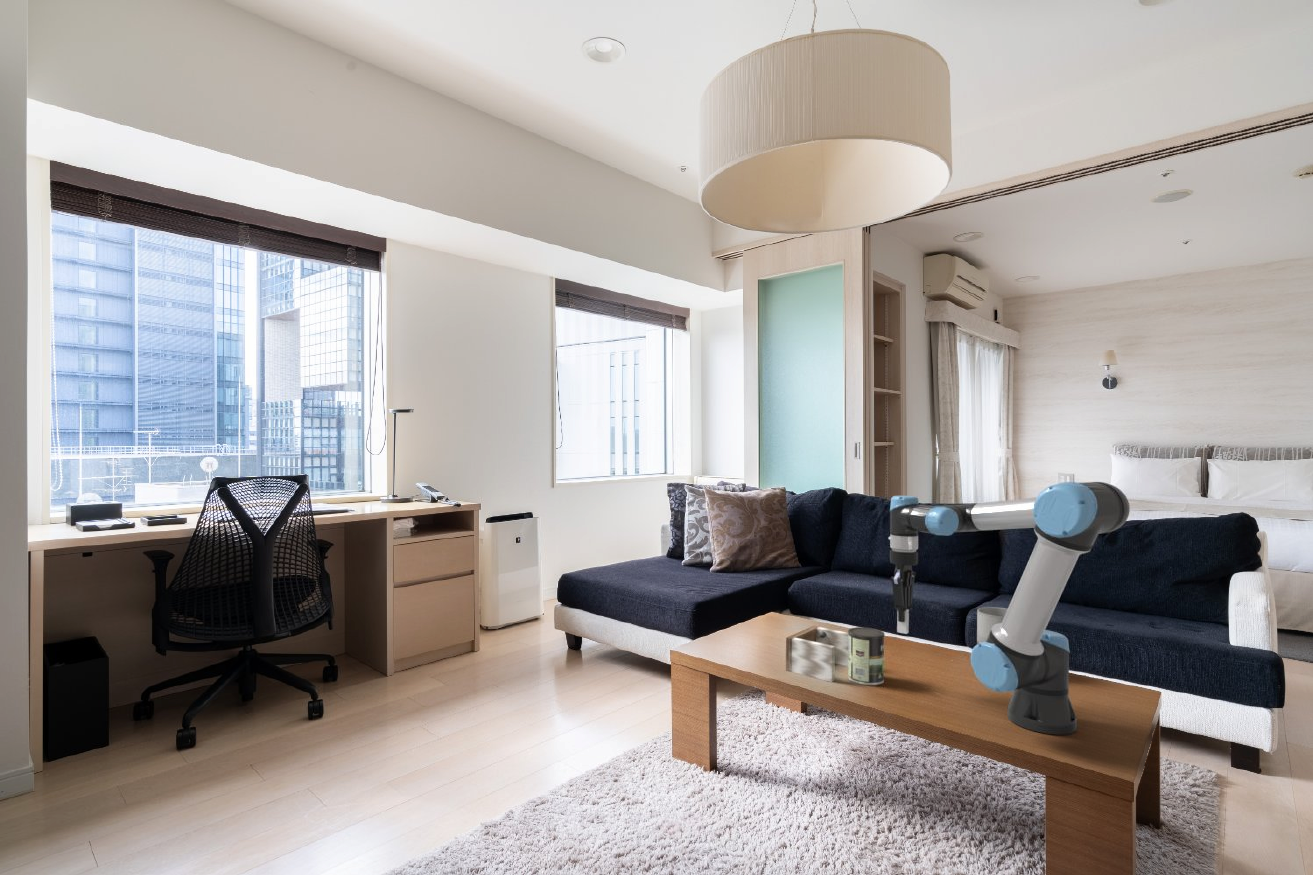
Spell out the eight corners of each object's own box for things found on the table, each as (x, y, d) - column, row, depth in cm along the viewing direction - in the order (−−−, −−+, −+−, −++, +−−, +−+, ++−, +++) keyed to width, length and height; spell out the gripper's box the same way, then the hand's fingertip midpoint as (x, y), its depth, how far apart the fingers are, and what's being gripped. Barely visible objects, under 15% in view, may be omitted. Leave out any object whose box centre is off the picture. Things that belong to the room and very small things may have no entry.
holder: (857, 666, 209) (857, 634, 209) (831, 681, 196) (831, 647, 196) (813, 656, 219) (813, 625, 219) (785, 670, 205) (786, 637, 205)
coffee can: (881, 674, 202) (882, 628, 202) (886, 686, 192) (886, 637, 192) (846, 672, 204) (846, 625, 204) (849, 683, 194) (849, 635, 194)
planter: (979, 659, 217) (979, 605, 218) (1024, 667, 211) (1024, 610, 211) (974, 671, 206) (975, 613, 206) (1022, 679, 200) (1023, 619, 200)
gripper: (899, 545, 199) (898, 625, 199) (882, 551, 189) (881, 634, 189) (924, 548, 194) (924, 630, 194) (908, 554, 184) (907, 640, 184)
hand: (902, 632), depth 191 cm, fingers closed
